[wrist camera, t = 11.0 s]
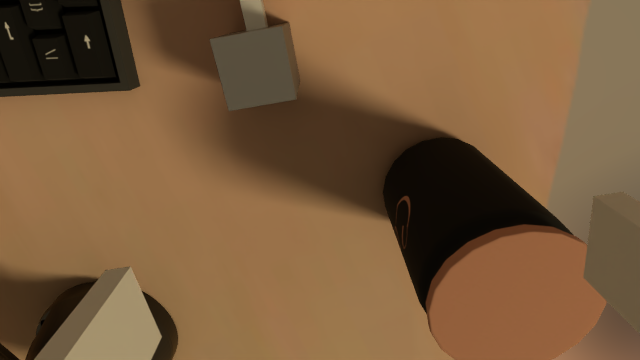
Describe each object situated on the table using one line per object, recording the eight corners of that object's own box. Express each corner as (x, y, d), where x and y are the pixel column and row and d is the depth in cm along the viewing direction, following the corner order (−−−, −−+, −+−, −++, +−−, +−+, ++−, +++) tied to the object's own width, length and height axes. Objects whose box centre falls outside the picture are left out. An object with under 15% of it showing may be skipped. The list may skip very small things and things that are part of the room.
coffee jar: (367, 155, 38) (406, 266, 22) (474, 117, 37) (602, 204, 20) (397, 241, 42) (450, 389, 26) (495, 210, 41) (616, 345, 24)
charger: (246, 90, 36) (228, 111, 28) (220, -19, 32) (191, -27, 25) (300, 80, 35) (296, 99, 28) (279, -30, 32) (268, -42, 24)
